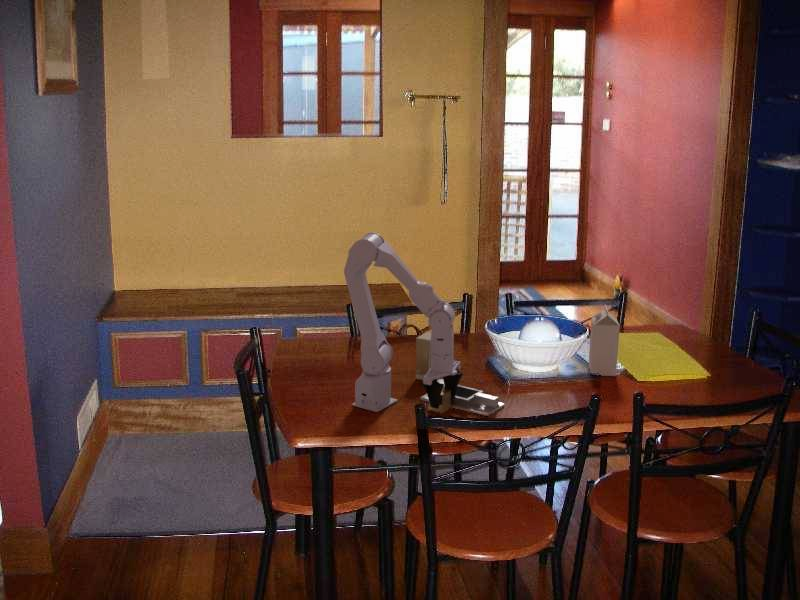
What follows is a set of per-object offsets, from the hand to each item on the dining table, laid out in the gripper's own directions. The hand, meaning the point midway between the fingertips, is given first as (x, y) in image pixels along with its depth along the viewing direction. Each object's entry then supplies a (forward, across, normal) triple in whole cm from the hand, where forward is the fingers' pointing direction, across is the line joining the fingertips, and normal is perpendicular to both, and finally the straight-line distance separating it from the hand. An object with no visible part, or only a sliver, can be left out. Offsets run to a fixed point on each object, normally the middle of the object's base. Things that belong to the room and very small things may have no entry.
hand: (442, 403), depth 239 cm
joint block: (+2, 0, +1) cm, 2 cm away
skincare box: (+2, +18, +16) cm, 24 cm away
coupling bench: (+2, +7, -2) cm, 7 cm away
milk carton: (+3, +51, -22) cm, 55 cm away
